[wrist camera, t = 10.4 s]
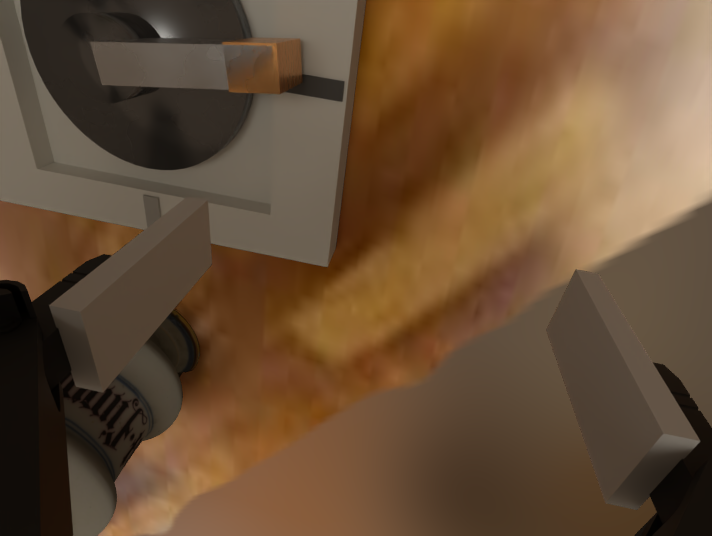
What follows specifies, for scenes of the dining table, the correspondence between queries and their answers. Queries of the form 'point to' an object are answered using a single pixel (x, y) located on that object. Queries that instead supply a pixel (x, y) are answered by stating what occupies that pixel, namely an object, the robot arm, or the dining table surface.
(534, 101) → the dining table surface
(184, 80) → the dial
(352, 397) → the dining table surface
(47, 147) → the panel
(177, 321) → the apothecary jar
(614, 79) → the dining table surface
